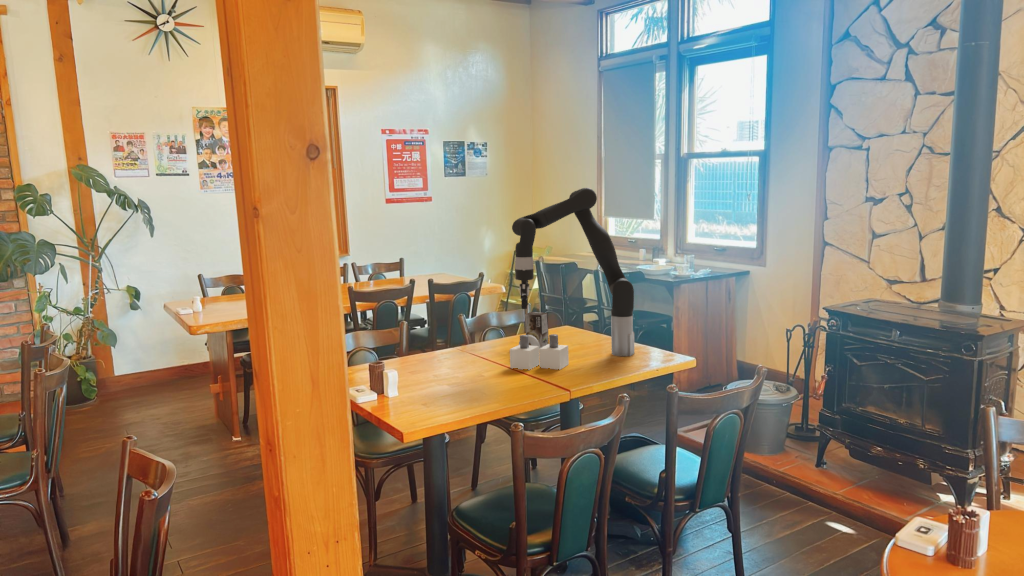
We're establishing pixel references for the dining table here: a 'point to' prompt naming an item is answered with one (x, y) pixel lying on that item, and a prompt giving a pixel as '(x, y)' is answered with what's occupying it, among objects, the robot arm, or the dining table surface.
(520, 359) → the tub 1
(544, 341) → the grey mechanical block
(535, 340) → the donut
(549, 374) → the dining table surface
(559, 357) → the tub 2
